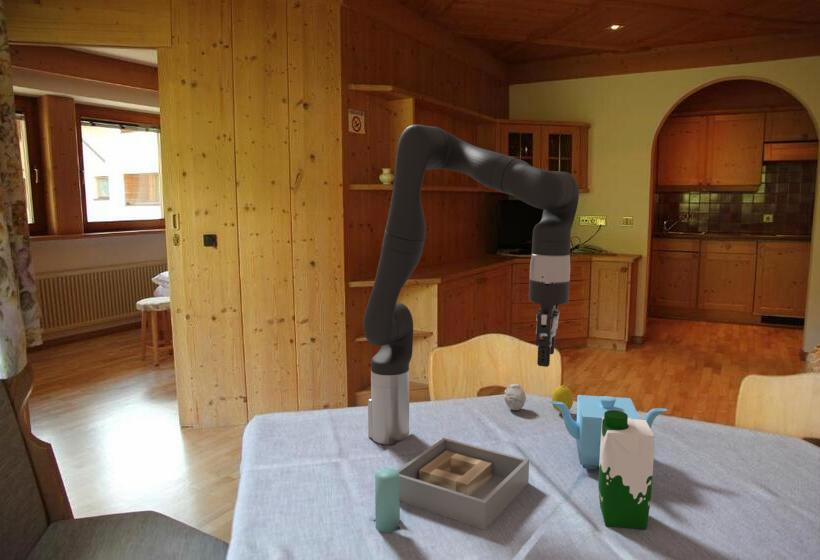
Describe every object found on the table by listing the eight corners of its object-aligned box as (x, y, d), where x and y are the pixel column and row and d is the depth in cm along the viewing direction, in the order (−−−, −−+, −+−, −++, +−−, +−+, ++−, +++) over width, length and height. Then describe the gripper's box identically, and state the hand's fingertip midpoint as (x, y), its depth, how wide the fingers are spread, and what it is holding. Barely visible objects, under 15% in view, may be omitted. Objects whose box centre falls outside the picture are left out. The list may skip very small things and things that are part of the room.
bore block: (419, 484, 122) (419, 470, 121) (446, 463, 131) (446, 450, 130) (467, 499, 116) (467, 484, 115) (491, 476, 125) (492, 462, 124)
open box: (391, 502, 116) (391, 473, 115) (443, 463, 133) (443, 437, 132) (484, 534, 105) (485, 503, 104) (528, 487, 122) (529, 459, 121)
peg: (370, 527, 108) (370, 475, 106) (385, 516, 111) (384, 466, 110) (390, 535, 105) (390, 482, 104) (404, 523, 109) (404, 472, 107)
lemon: (573, 418, 158) (574, 389, 157) (551, 416, 160) (552, 388, 158) (571, 410, 164) (572, 382, 163) (551, 409, 165) (552, 381, 164)
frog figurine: (520, 404, 169) (521, 380, 168) (529, 413, 162) (530, 388, 161) (500, 405, 168) (500, 381, 167) (508, 414, 161) (508, 390, 160)
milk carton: (594, 503, 116) (599, 404, 113) (643, 507, 114) (649, 407, 111) (600, 528, 107) (605, 422, 104) (653, 533, 106) (660, 426, 103)
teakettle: (598, 437, 146) (601, 379, 144) (668, 466, 131) (672, 402, 129) (544, 456, 136) (545, 394, 134) (612, 490, 121) (616, 421, 118)
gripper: (534, 271, 122) (531, 348, 124) (524, 282, 108) (521, 368, 111) (572, 273, 119) (568, 351, 122) (566, 284, 106) (562, 372, 108)
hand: (545, 359), depth 116 cm, fingers open, 8 cm apart
